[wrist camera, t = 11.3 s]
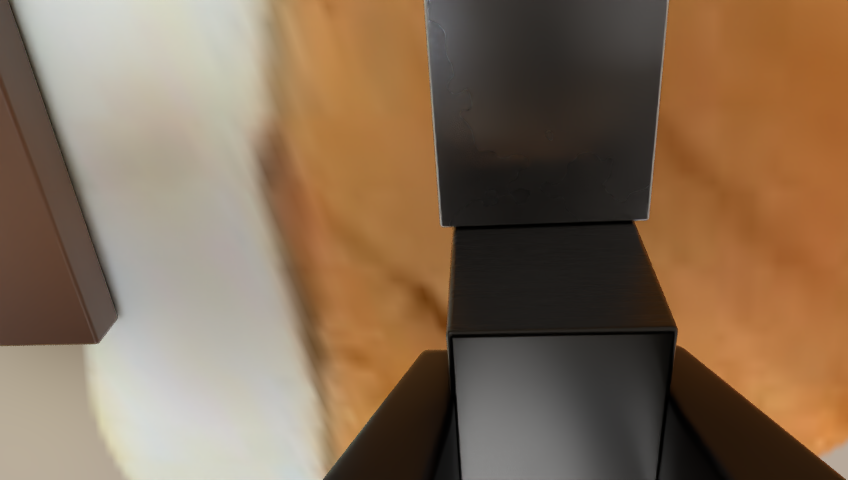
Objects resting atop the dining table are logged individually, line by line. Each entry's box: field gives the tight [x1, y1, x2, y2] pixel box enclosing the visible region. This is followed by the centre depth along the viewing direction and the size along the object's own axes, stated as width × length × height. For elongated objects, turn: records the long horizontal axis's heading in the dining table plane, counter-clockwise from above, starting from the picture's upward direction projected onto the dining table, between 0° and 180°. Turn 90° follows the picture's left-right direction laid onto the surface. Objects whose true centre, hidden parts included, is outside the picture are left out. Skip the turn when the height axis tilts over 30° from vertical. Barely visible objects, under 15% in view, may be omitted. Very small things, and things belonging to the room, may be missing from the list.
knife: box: [424, 0, 678, 480], centre depth 7 cm, size 21×2×2 cm, turn 4°
